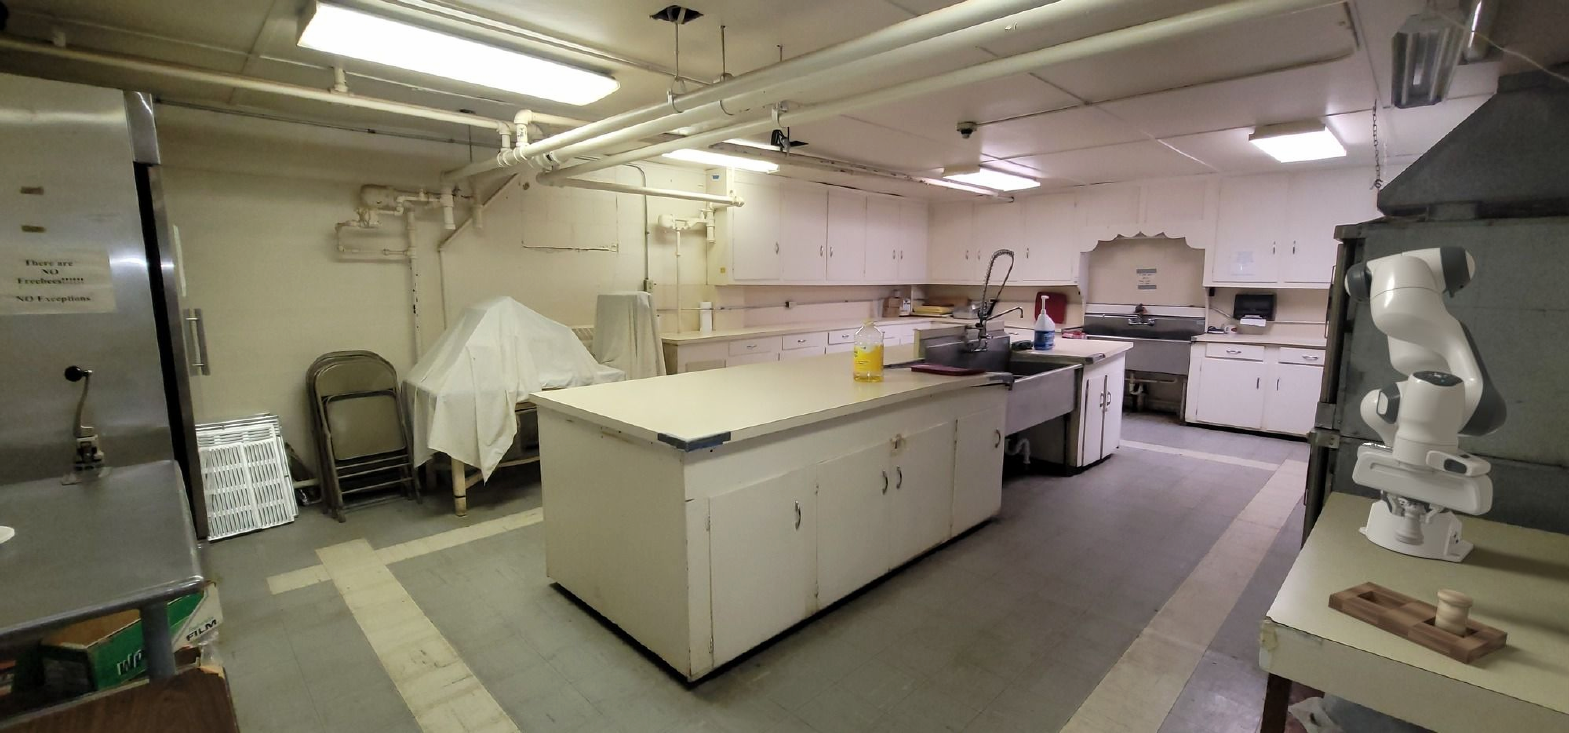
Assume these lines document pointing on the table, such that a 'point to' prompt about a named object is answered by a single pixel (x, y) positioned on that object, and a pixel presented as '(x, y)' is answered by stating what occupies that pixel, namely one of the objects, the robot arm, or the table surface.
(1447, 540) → the robot arm
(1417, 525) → the rook chess piece
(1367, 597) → the pallet board
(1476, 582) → the table surface
